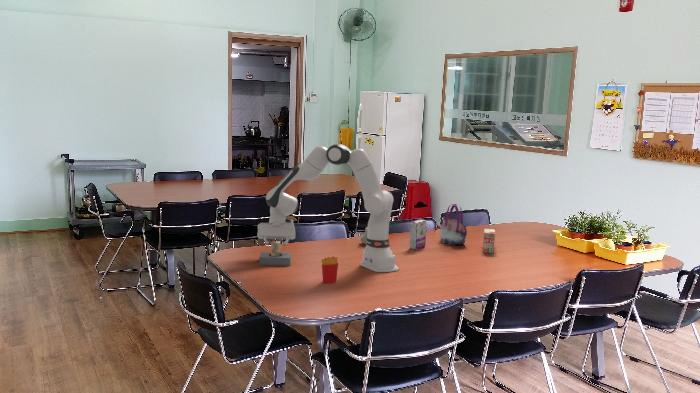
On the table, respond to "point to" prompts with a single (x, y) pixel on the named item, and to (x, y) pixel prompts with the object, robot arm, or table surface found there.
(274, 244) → the tan tall block
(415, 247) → the candy bar box
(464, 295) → the table surface
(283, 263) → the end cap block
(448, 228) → the handbag
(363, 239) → the air freshener
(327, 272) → the french fries
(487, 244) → the beige snack box
